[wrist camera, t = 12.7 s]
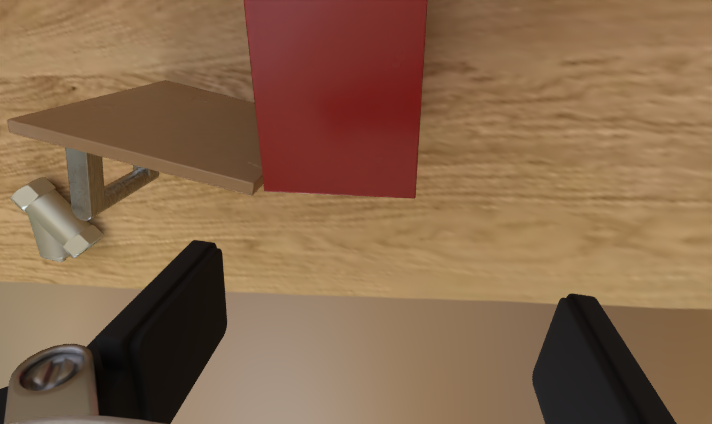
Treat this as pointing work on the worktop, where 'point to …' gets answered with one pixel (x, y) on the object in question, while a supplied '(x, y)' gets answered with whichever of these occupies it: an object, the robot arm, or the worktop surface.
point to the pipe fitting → (54, 221)
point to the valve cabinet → (338, 94)
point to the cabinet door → (150, 141)
